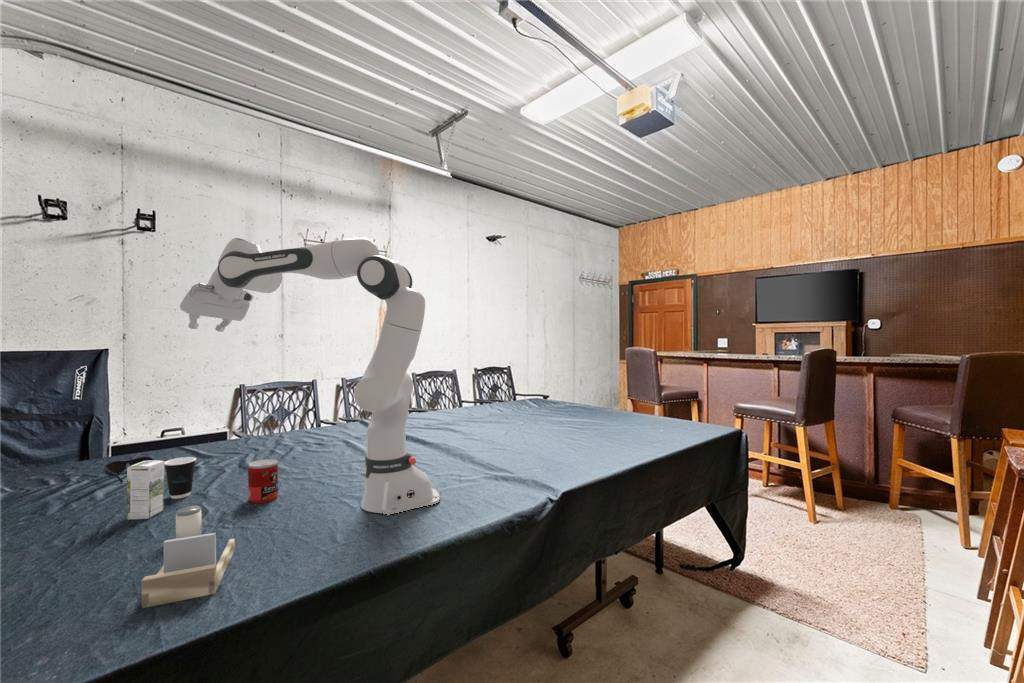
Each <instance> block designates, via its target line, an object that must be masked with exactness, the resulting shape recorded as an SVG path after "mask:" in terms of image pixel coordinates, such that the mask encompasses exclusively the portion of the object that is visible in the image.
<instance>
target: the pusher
mask: <svg viewBox="0 0 1024 683" xmlns="http://www.w3.org/2000/svg"><path fill="white" fill-rule="evenodd" d="M162 545H163V548H162V549H163V565H164V573H168V572H174V571H179V570H185V569H190V568H196V567H202V566H207V565H213V564H216V565H217V533H216V532H212V533H204V534H202V535H197V536H190V537H184V538H177V539H176V538H173V539H172V538H171V539H167V540H166V539H165V540H164V541H163V544H162Z"/></svg>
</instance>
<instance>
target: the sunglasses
mask: <svg viewBox="0 0 1024 683" xmlns="http://www.w3.org/2000/svg"><path fill="white" fill-rule="evenodd" d="M148 460H156V459H155V458H152V457H151V456H140V457H136V458H132V459H129V460H114V461H111V462H109V463H107V464H105V465H104V467H103V468H104V472H105V475H108V476H114V477H116V479H118V481H119V482H120V483H121V482H124V480H123V479H122V478H121V476H119V475H118V474H115V473H119V472H121V473H122V472H124V471H125V469H127V464H129V466H132V465H134V464H137V463H140V462H142V461H148ZM119 474H120V473H119Z"/></svg>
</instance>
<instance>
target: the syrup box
mask: <svg viewBox="0 0 1024 683" xmlns="http://www.w3.org/2000/svg"><path fill="white" fill-rule="evenodd" d="M164 462H165V461H164V460H157V459H155V460H148V461H142V462H140V463H137V464H134V465H132V466H130V465H129V466H128V467H127V466H126V471H127V472H126V520H149V519H151V518H153V517H155V516H156V515H158V514H160V513H162V512H163V511H165V465H164Z"/></svg>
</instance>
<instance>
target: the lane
mask: <svg viewBox="0 0 1024 683" xmlns="http://www.w3.org/2000/svg"><path fill="white" fill-rule="evenodd" d="M235 543H236V539H235V538H230V539H228V541H227V544H226V546H225V548H224V550H223V552H222V554H221V555H220V558H219V560H218V561H217V563H216V564H213V565H207V566H202V567H196V568H190V569H185V570H179V571H174V572H168V573H164V564H163V565H162V567H161V568H160V569H159V570H158V572H157V573H156V574H153V575H151V574H150V575H147V576H144V577H143V578H142V579H141V609H145V608H146V609H147V608H151V607H155V606H160V605H165V604H170V603H175V602H180V601H186V600H190V599H194V598H195V599H196V598H201V597H205V596H209V595H215V594H216V591H217V590H218V587H219V585H220V583H221V581H222V578H223V576H224V574H225V571H226V569H227V567H228V566H229V563H230V562H231V559H232V556H233V554H234V552H235V550H236V544H235Z"/></svg>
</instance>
